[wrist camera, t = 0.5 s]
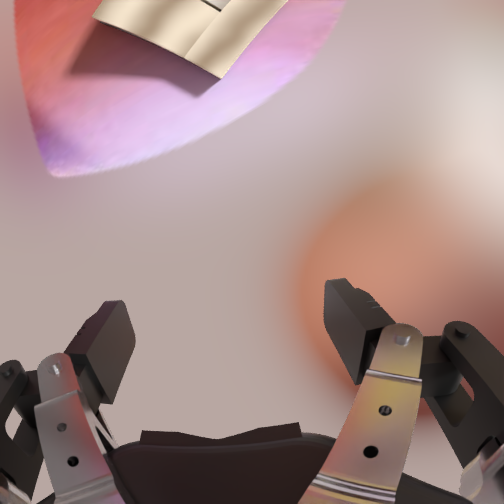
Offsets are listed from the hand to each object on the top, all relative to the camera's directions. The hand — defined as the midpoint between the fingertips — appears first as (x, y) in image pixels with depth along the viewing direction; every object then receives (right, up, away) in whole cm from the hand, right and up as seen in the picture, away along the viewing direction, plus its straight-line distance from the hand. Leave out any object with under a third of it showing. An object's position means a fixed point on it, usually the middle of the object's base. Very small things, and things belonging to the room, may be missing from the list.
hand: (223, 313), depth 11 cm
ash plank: (-9, +28, +9) cm, 31 cm away
